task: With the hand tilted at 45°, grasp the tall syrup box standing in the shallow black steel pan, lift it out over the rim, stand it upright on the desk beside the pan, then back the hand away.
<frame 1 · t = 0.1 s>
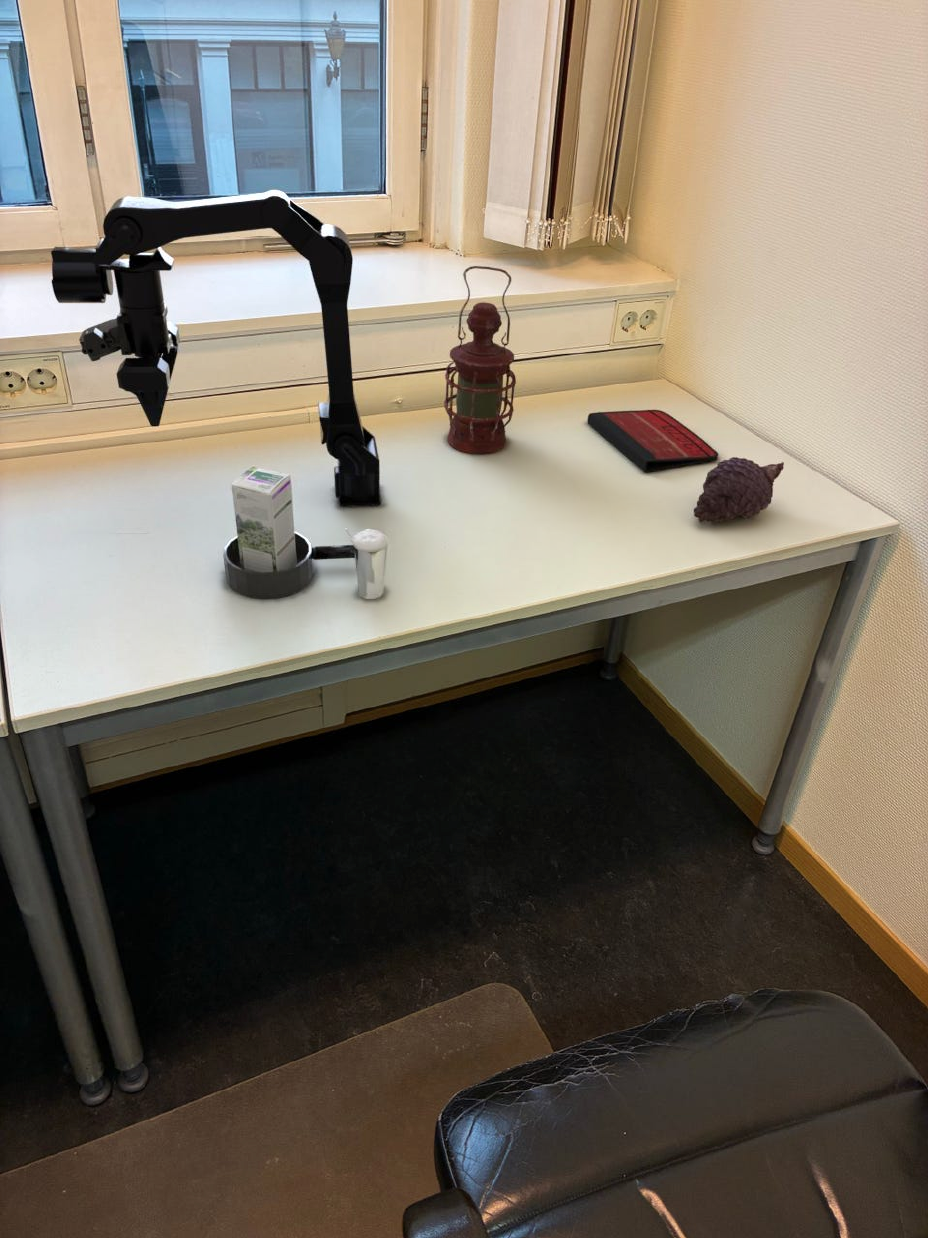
hand: (158, 412, 132), 15 cm above the table, tool pointing down, fingers open, 9 cm apart
syrup box: (270, 574, 126), resting on pan
pine cone: (729, 514, 146), on the table
pan: (270, 574, 126), on the table
pan handle: (346, 551, 125), point 3 cm above the table
binder: (652, 443, 167), on the table
lantern: (476, 442, 163), on the table
milkshake: (367, 593, 124), on the table
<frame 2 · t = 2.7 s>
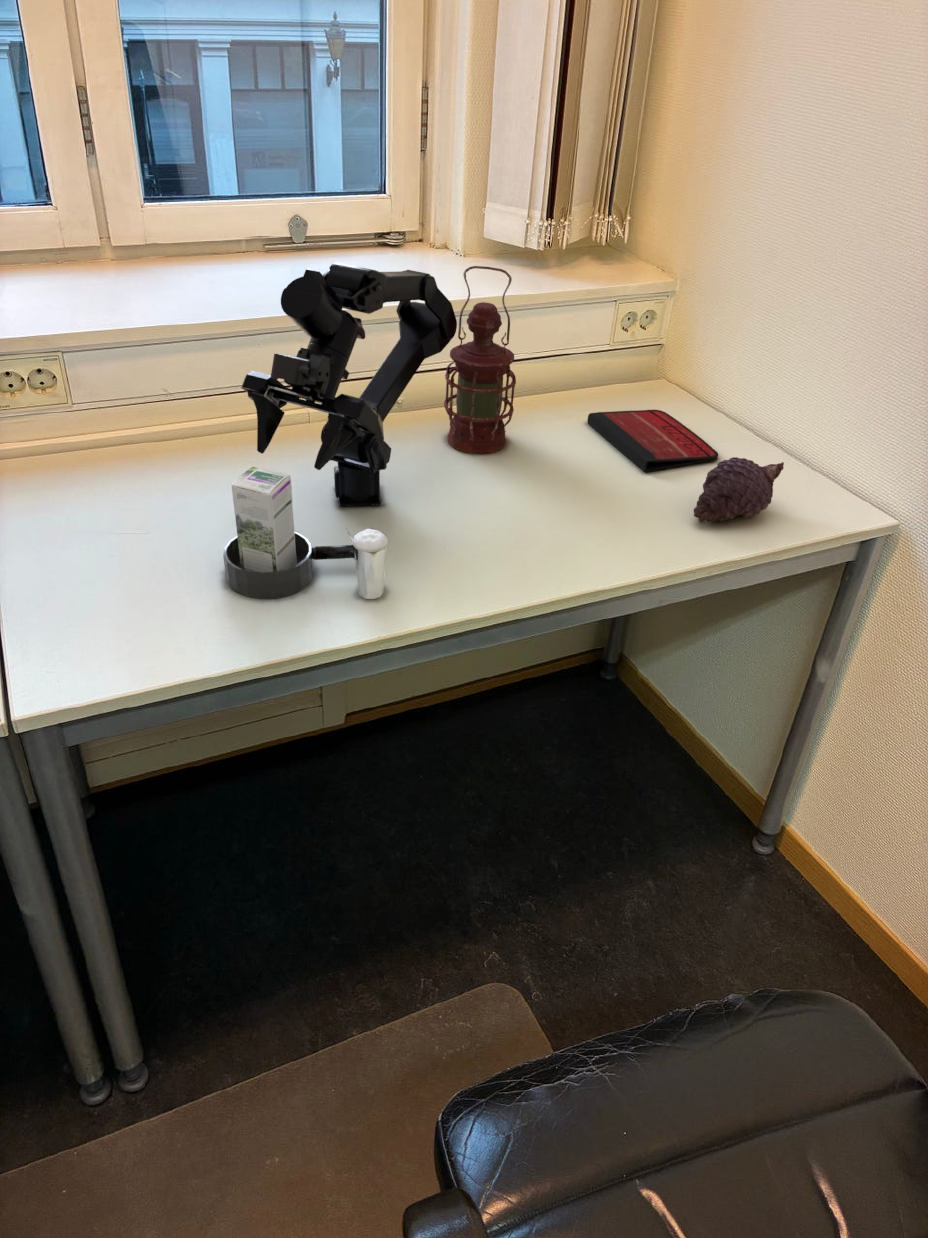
hand: (288, 460, 124), 14 cm above the table, tool tilted 40°, fingers open, 9 cm apart
nothing on the table moved.
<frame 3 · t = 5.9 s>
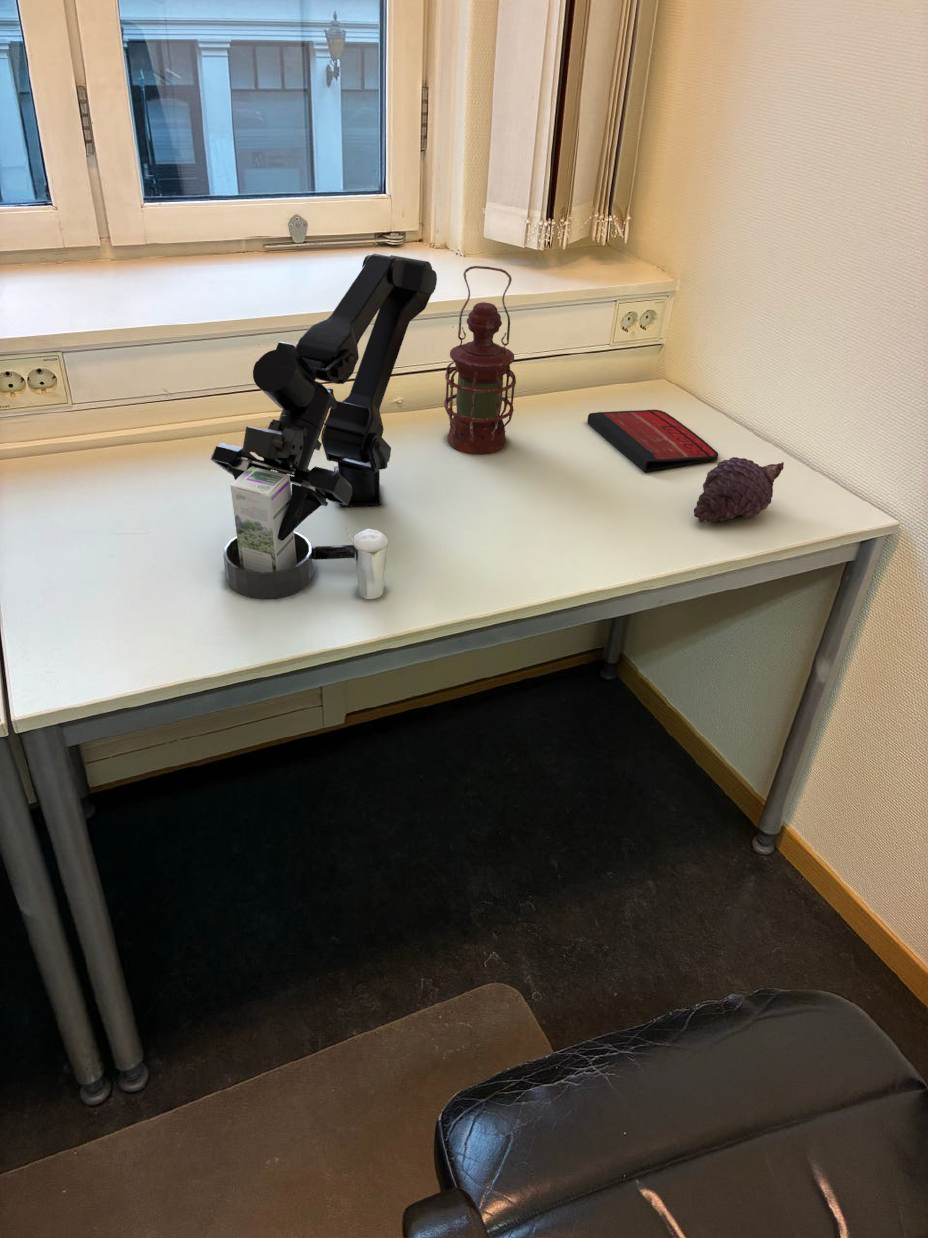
hand: (259, 533, 120), 7 cm above the table, tool tilted 45°, fingers closed on syrup box, 6 cm apart
syrup box: (269, 573, 126), resting on pan, touching gripper
everything else where it was.
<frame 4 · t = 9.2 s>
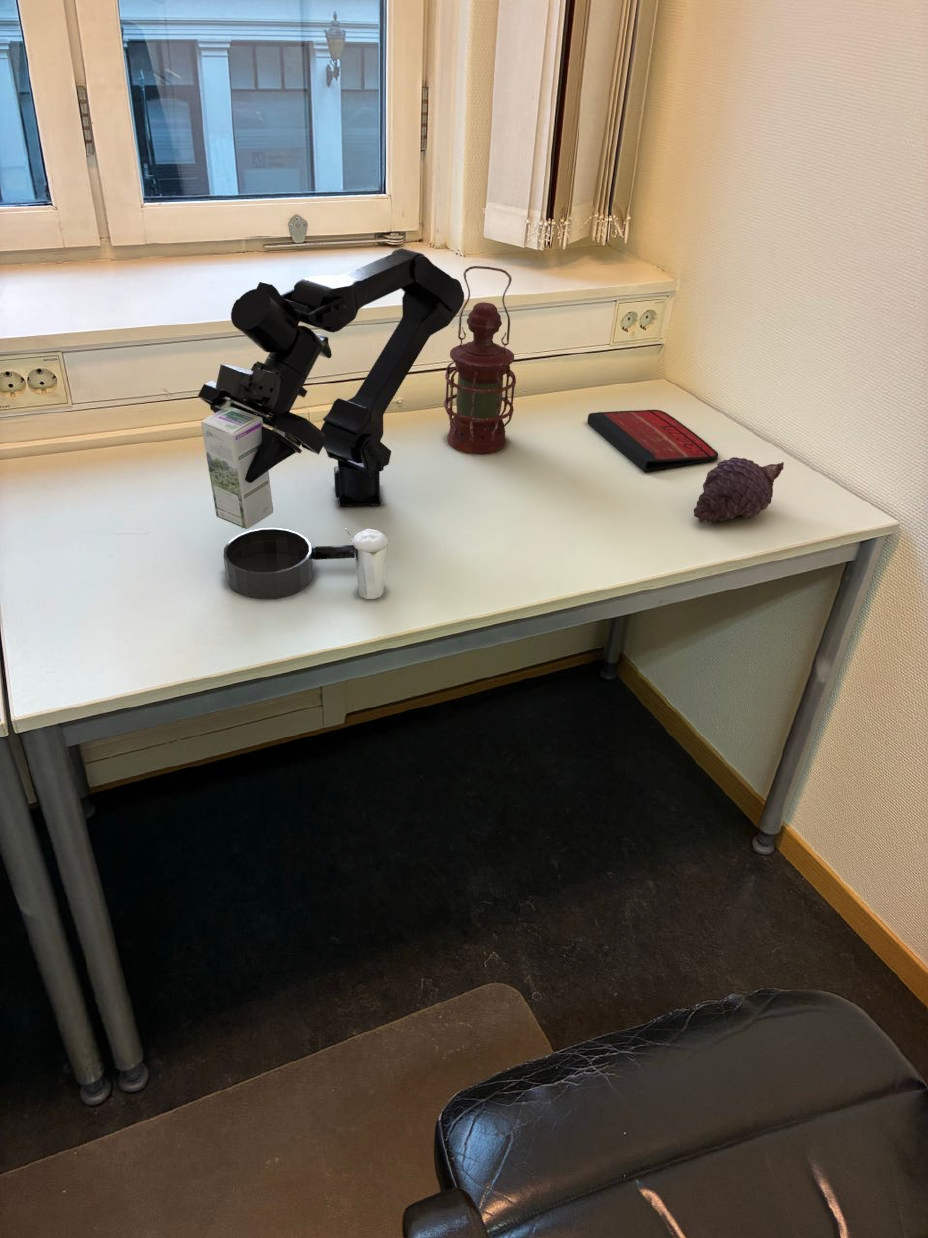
hand: (231, 474, 121), 13 cm above the table, tool tilted 45°, fingers closed on syrup box, 6 cm apart
syrup box: (245, 516, 126), point 6 cm above the table, touching gripper
everything else where it was.
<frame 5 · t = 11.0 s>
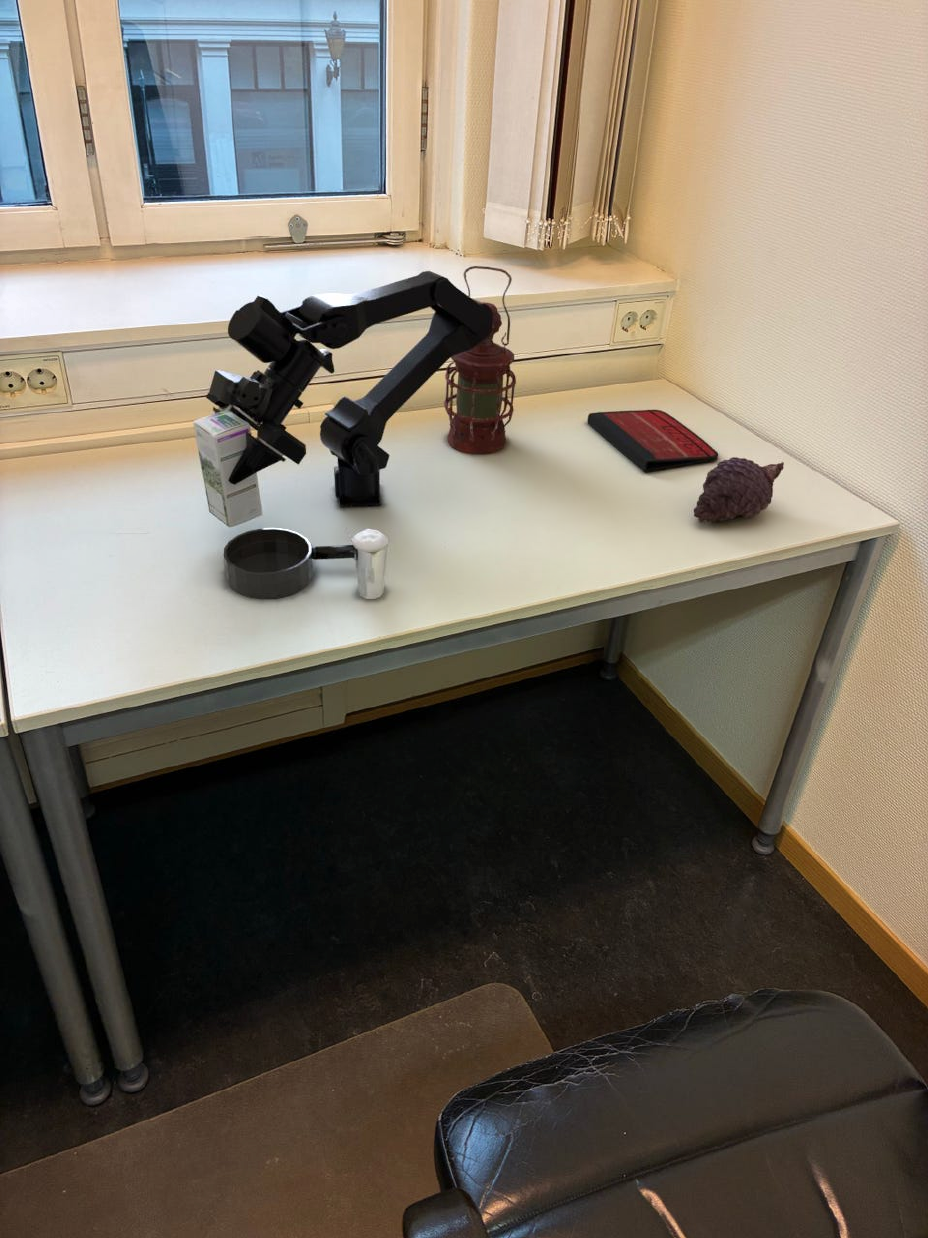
hand: (220, 474, 127), 10 cm above the table, tool tilted 45°, fingers closed on syrup box, 6 cm apart
syrup box: (235, 515, 132), point 3 cm above the table, touching gripper
everything else where it was.
when the fingers open (7 cm above the table, at t = 12.4 s): syrup box stays where it is, on the table.
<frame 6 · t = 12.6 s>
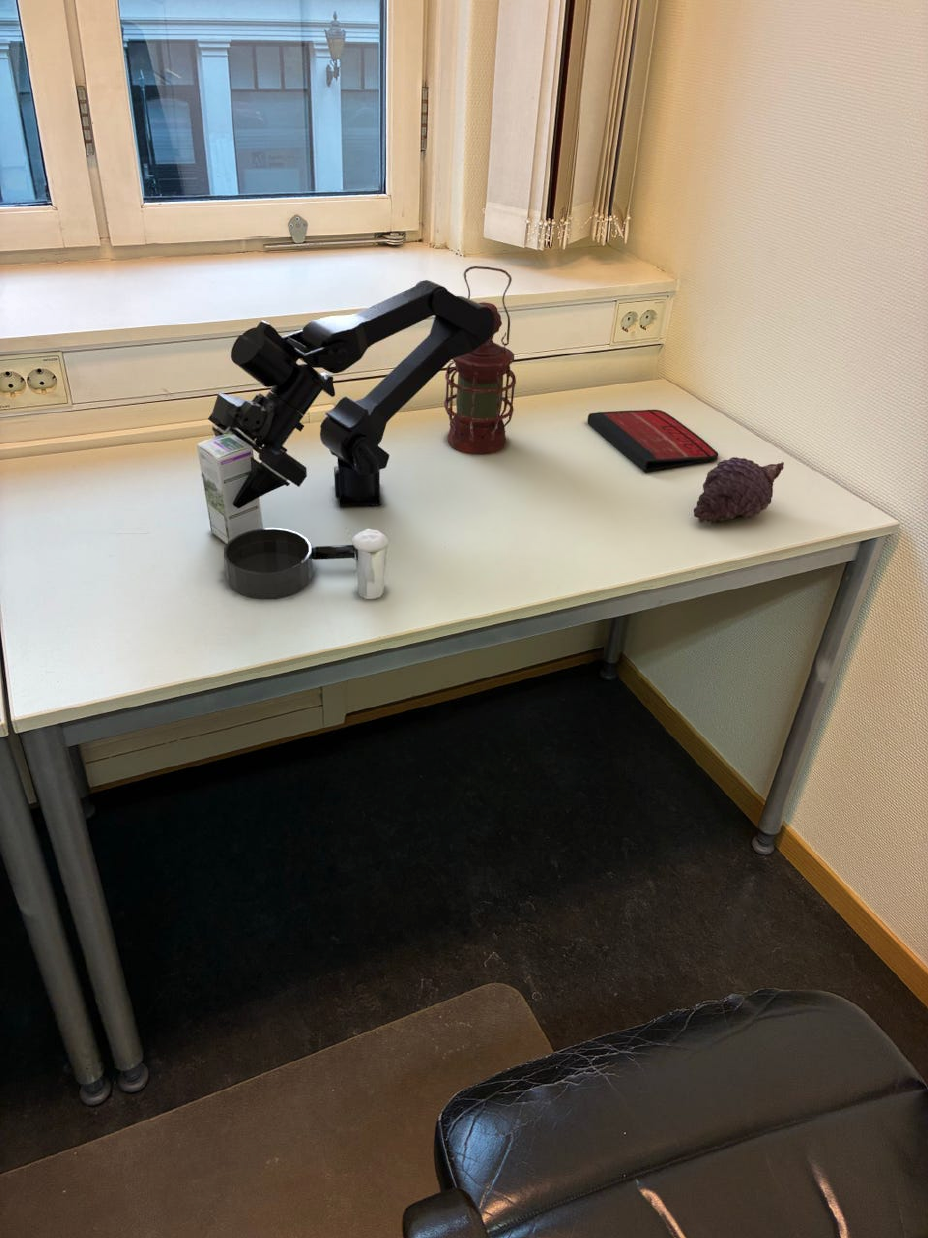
hand: (222, 495, 129), 7 cm above the table, tool tilted 45°, fingers open, 7 cm apart
syrup box: (237, 536, 134), on the table, touching gripper
everything else where it was.
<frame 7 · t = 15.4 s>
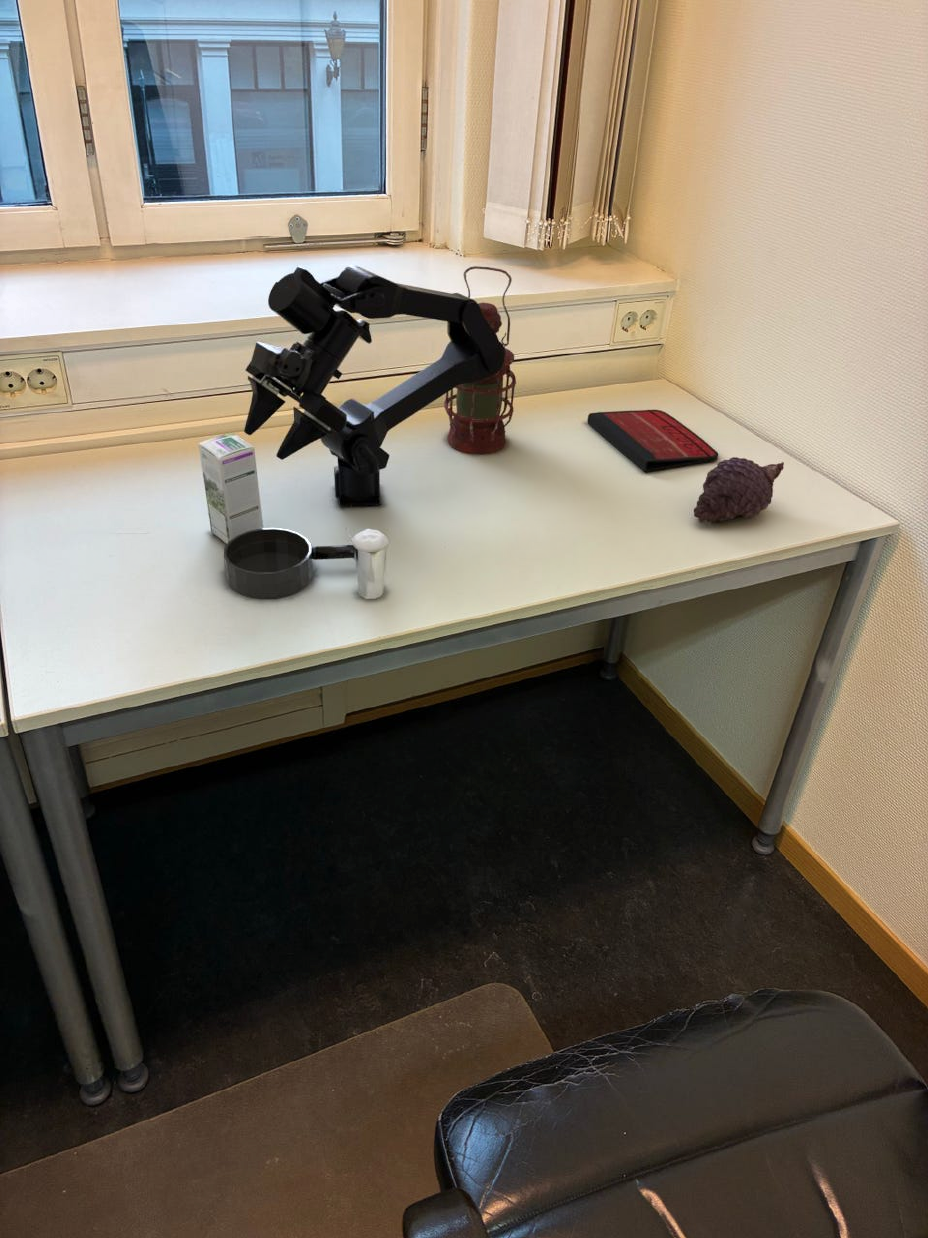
hand: (262, 445, 129), 13 cm above the table, tool tilted 40°, fingers open, 9 cm apart
syrup box: (237, 536, 134), on the table
lantern: (476, 442, 163), on the table, touching arm
everything else where it was.
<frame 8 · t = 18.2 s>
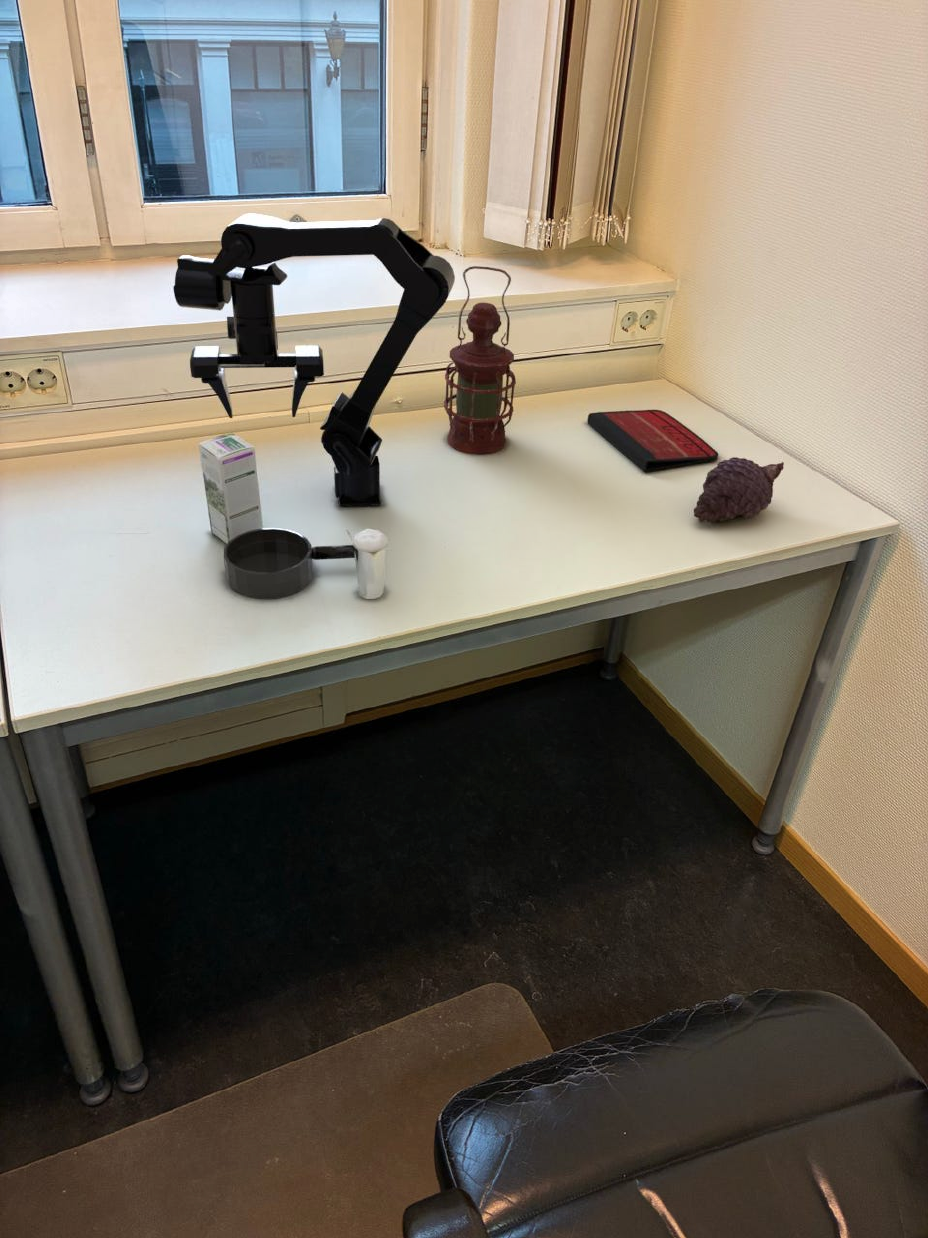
hand: (262, 416, 139), 12 cm above the table, tool pointing down, fingers open, 9 cm apart
lantern: (476, 442, 163), on the table
everything else where it was.
at the end: syrup box inside the target area (0.3 cm from its centre), on the table; syrup box tilted 0°; the gripper is holding nothing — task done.
